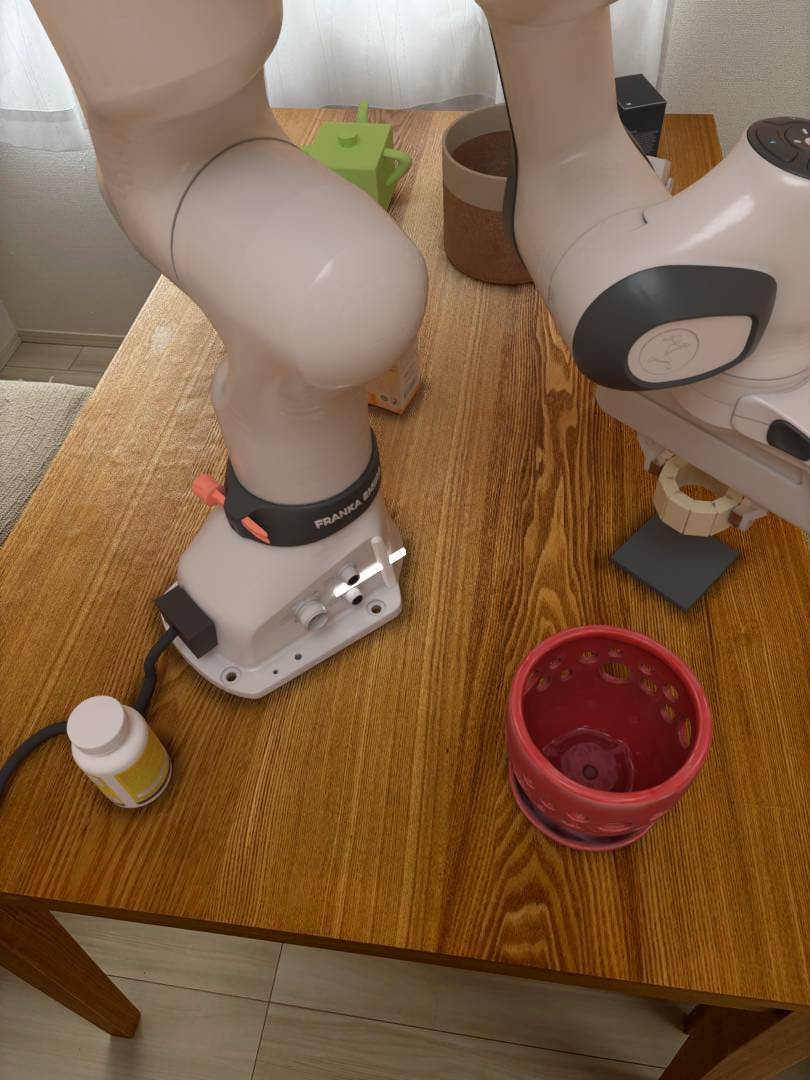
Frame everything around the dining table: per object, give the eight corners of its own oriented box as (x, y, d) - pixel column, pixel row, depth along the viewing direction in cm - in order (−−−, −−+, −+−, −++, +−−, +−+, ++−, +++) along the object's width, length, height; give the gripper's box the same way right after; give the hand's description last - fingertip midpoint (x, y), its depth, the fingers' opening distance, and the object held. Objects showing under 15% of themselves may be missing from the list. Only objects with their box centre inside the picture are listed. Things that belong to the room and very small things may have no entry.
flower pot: (663, 890, 60) (700, 834, 51) (480, 832, 63) (483, 769, 54) (689, 724, 67) (726, 647, 58) (524, 679, 71) (534, 599, 61)
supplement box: (332, 396, 92) (314, 294, 81) (353, 367, 94) (339, 264, 83) (402, 417, 89) (393, 315, 79) (422, 387, 92) (416, 284, 81)
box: (652, 183, 112) (668, 101, 103) (611, 191, 111) (623, 109, 103) (629, 152, 116) (642, 71, 108) (589, 159, 116) (599, 78, 107)
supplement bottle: (177, 740, 69) (140, 683, 61) (168, 807, 66) (128, 756, 58) (110, 744, 69) (64, 688, 61) (98, 811, 66) (48, 761, 58)
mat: (685, 613, 73) (687, 609, 73) (609, 560, 77) (610, 556, 77) (738, 557, 76) (740, 553, 76) (662, 509, 80) (663, 504, 80)
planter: (427, 277, 103) (423, 168, 92) (464, 203, 111) (464, 95, 100) (560, 298, 99) (572, 187, 88) (587, 219, 108) (601, 109, 97)
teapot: (371, 169, 117) (364, 89, 109) (434, 210, 111) (432, 129, 102) (277, 213, 112) (262, 133, 104) (338, 260, 106) (327, 178, 97)
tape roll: (706, 550, 68) (715, 527, 65) (637, 505, 71) (642, 481, 68) (752, 503, 70) (762, 479, 68) (683, 461, 73) (690, 437, 71)
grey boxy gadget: (615, 223, 110) (606, 194, 101) (633, 171, 109) (625, 137, 100) (661, 233, 108) (655, 205, 99) (679, 180, 107) (676, 147, 98)
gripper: (588, 323, 62) (571, 452, 73) (855, 469, 53) (789, 592, 64) (641, 281, 64) (617, 412, 76) (907, 413, 55) (834, 541, 66)
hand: (698, 496), depth 70 cm, fingers closed on tape roll, 6 cm apart
